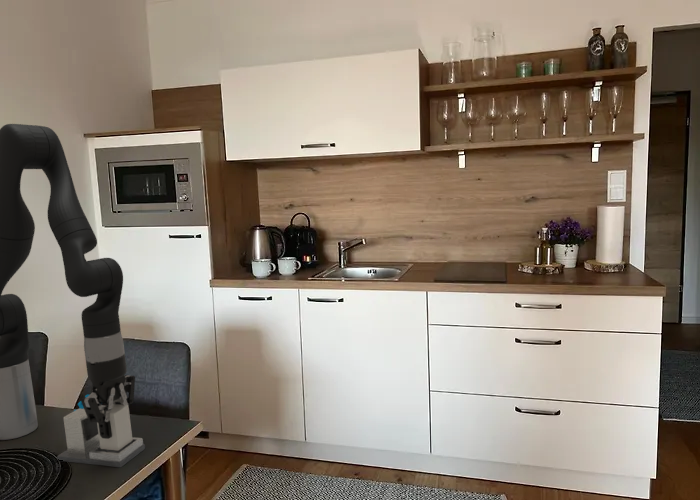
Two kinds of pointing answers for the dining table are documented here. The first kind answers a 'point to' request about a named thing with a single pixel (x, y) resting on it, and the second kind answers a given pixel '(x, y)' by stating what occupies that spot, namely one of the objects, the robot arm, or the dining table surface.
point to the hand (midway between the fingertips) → (114, 431)
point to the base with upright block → (93, 443)
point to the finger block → (117, 428)
